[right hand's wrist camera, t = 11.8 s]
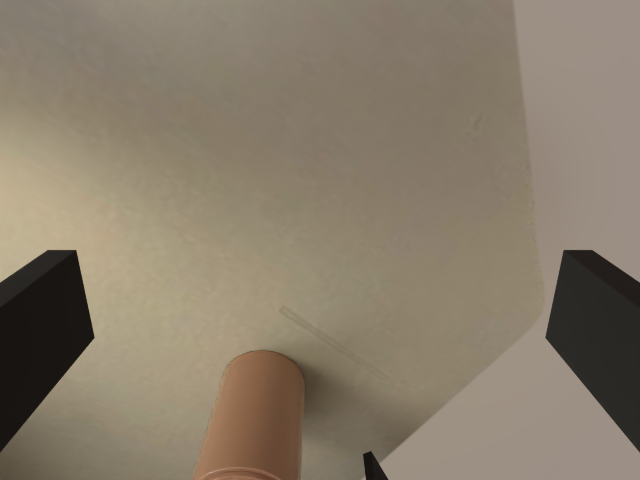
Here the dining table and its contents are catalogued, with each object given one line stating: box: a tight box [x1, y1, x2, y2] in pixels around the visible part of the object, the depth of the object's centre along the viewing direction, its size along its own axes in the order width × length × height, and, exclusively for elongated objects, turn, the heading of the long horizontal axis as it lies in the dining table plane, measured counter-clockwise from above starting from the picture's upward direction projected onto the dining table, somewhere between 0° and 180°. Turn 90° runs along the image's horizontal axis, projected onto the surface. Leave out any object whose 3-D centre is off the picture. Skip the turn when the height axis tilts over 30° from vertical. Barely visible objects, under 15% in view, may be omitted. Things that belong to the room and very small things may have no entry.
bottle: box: [191, 351, 305, 480], centre depth 35 cm, size 8×8×17 cm
